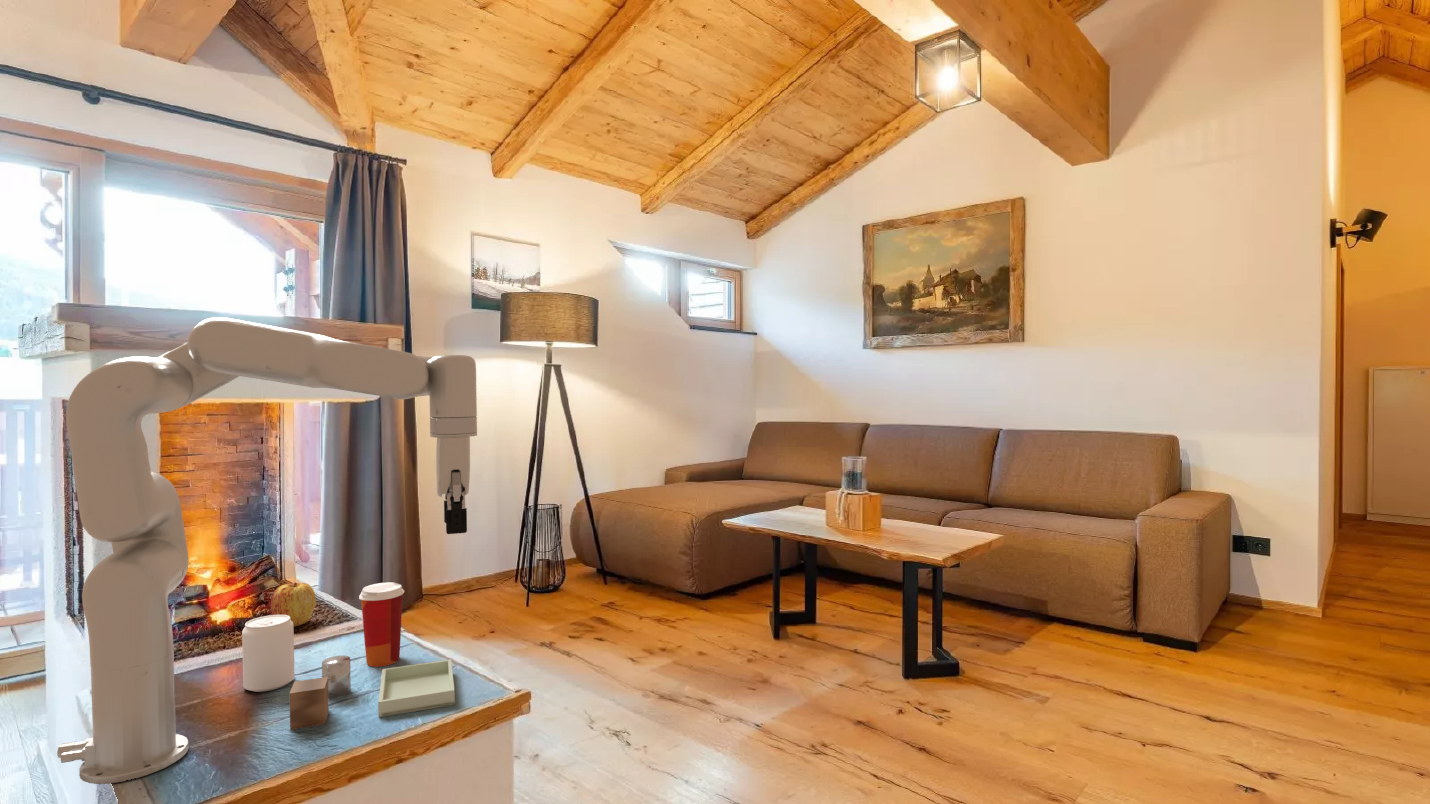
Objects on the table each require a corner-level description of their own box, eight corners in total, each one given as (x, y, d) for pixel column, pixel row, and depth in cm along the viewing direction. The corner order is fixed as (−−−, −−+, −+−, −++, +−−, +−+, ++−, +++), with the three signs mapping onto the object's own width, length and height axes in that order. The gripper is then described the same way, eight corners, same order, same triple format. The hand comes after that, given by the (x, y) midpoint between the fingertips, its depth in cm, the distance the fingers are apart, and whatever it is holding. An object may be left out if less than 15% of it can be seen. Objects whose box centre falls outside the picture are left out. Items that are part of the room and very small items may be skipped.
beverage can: (303, 680, 135) (302, 617, 135) (259, 697, 128) (258, 630, 128) (278, 672, 139) (277, 611, 139) (234, 688, 132) (232, 623, 131)
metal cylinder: (321, 700, 127) (320, 666, 127) (324, 690, 131) (323, 657, 131) (349, 696, 128) (348, 662, 128) (351, 686, 133) (351, 654, 132)
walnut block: (290, 730, 116) (289, 693, 116) (295, 716, 121) (294, 681, 120) (325, 724, 118) (324, 688, 118) (328, 711, 123) (328, 676, 122)
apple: (295, 617, 172) (294, 575, 172) (325, 620, 170) (325, 578, 169) (261, 629, 163) (260, 586, 163) (294, 633, 161) (293, 589, 160)
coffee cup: (393, 650, 150) (391, 579, 150) (413, 659, 145) (411, 586, 145) (352, 662, 144) (350, 588, 143) (371, 673, 139) (370, 596, 138)
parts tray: (378, 717, 120) (378, 702, 120) (382, 682, 134) (382, 669, 134) (454, 704, 125) (454, 690, 125) (451, 672, 138) (451, 659, 138)
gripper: (429, 425, 129) (430, 520, 129) (430, 431, 113) (432, 539, 113) (473, 424, 131) (474, 517, 132) (480, 430, 115) (482, 535, 116)
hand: (455, 527), depth 123 cm, fingers open, 9 cm apart
